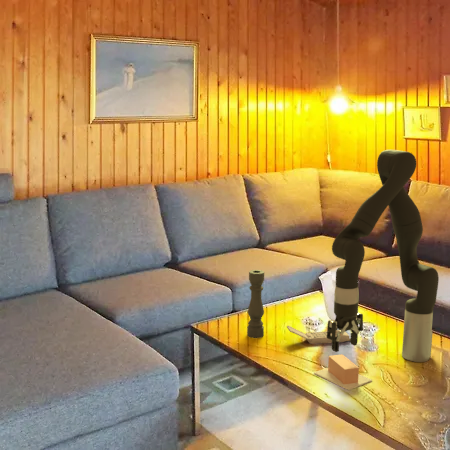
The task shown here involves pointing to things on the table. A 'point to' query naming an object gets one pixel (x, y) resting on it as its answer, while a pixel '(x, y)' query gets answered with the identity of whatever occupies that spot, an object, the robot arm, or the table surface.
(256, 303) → the candle holder
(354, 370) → the card box
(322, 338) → the mobile phone
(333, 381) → the beige flat plate
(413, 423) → the table surface
